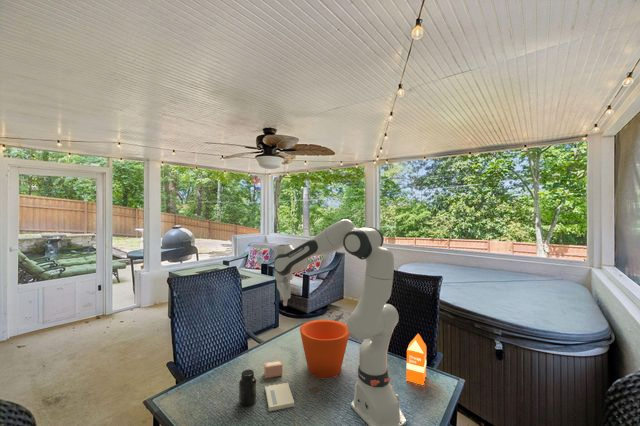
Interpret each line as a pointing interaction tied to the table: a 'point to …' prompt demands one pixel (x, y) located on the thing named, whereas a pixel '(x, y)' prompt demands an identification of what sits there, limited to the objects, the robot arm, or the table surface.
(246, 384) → the supplement bottle
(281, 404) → the cream flat block
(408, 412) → the table surface
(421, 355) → the orange juice
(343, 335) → the flowerpot
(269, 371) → the pink box
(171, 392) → the table surface
